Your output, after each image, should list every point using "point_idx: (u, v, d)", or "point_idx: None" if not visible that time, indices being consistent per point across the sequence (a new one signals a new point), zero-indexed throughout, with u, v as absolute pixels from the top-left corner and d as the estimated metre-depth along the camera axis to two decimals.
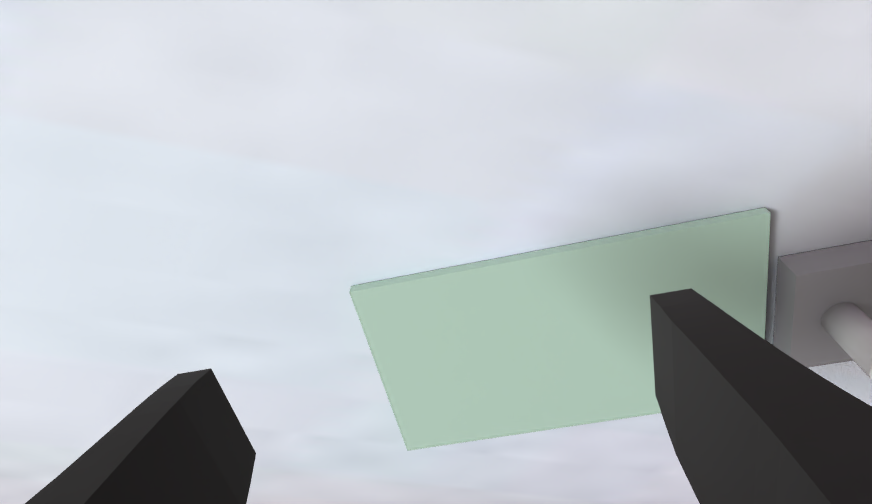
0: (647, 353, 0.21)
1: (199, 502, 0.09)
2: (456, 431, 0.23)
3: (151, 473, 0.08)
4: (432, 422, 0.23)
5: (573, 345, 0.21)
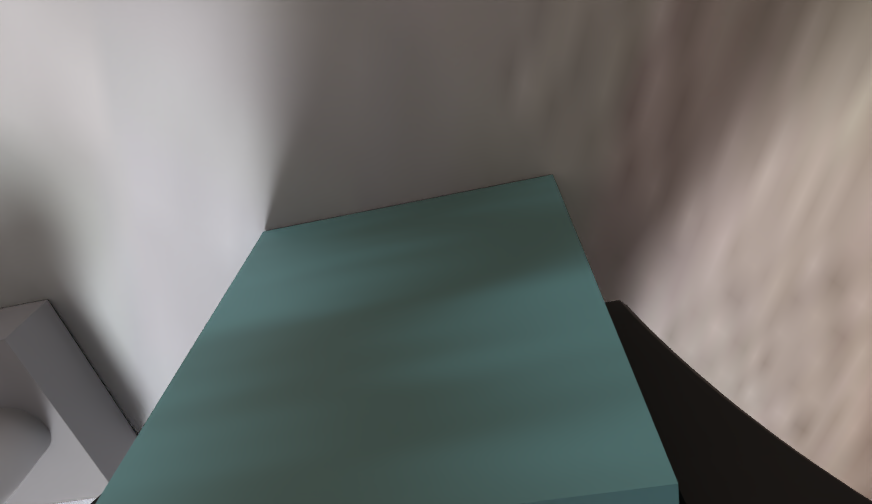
0: None
1: None
2: None
3: None
4: None
5: None
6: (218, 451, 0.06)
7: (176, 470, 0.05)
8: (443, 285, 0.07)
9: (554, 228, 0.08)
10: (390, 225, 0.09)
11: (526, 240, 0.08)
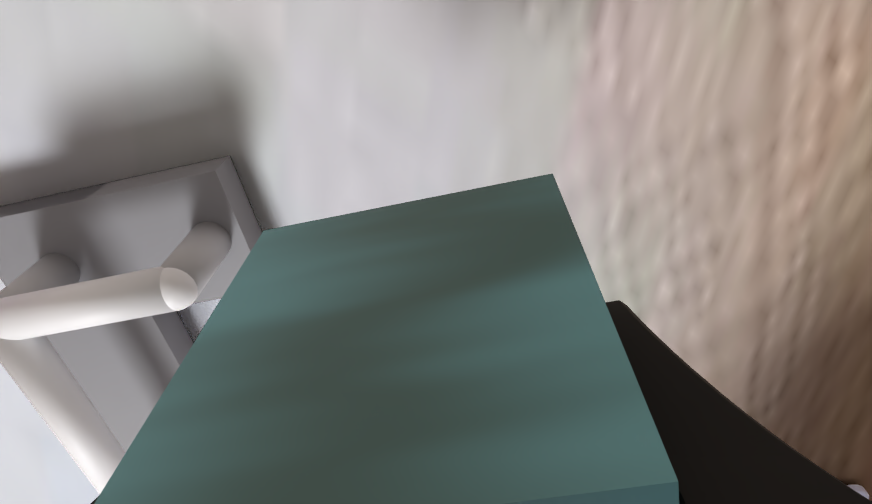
0: None
1: None
2: None
3: None
4: None
5: None
6: (218, 450, 0.06)
7: (176, 469, 0.05)
8: (443, 284, 0.07)
9: (554, 227, 0.08)
10: (390, 224, 0.09)
11: (527, 239, 0.08)
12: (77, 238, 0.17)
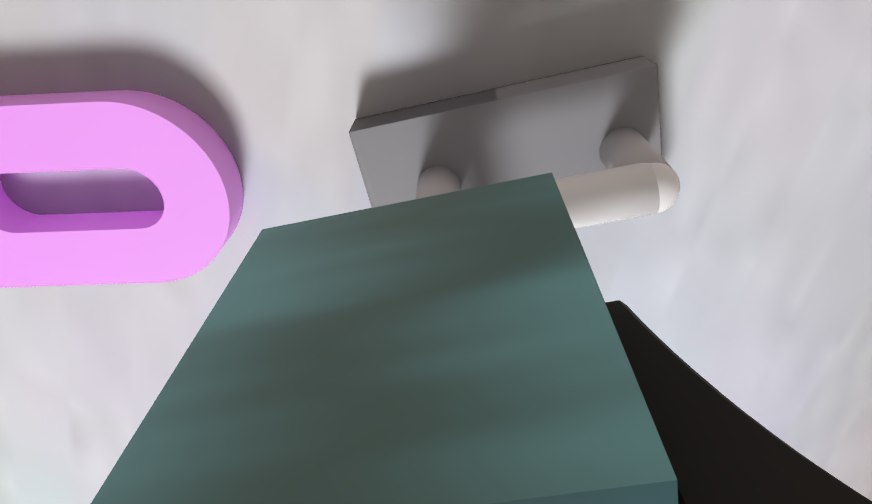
0: None
1: None
2: None
3: None
4: None
5: None
6: (216, 448, 0.06)
7: (174, 468, 0.05)
8: (442, 282, 0.07)
9: (553, 225, 0.08)
10: (389, 223, 0.09)
11: (525, 238, 0.08)
12: (471, 147, 0.16)
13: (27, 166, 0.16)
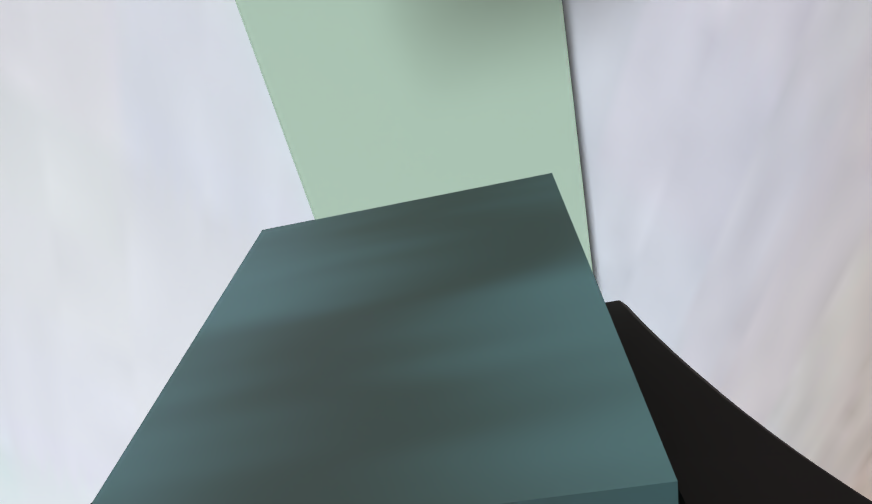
0: (455, 96, 0.16)
1: None
2: None
3: None
4: None
5: (442, 189, 0.17)
6: (216, 449, 0.06)
7: (174, 469, 0.05)
8: (442, 283, 0.07)
9: (553, 226, 0.08)
10: (389, 223, 0.09)
11: (526, 239, 0.08)
12: None
13: None
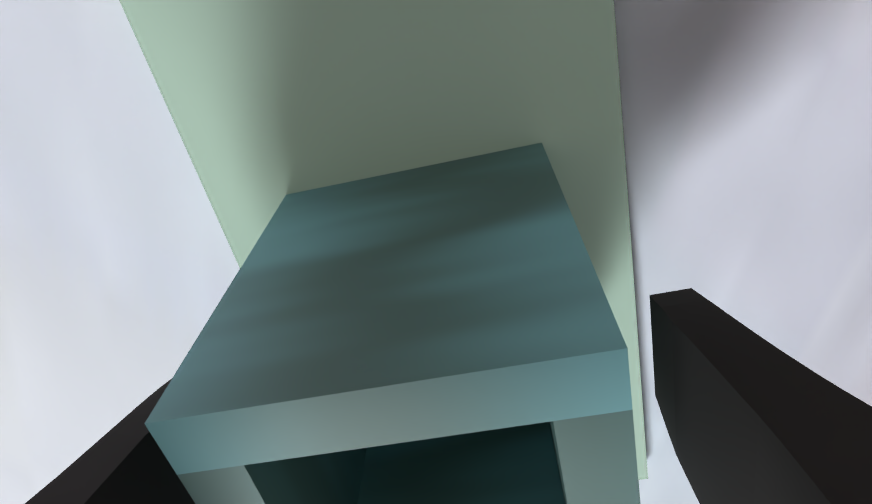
0: (452, 141, 0.11)
1: None
2: None
3: (151, 473, 0.08)
4: None
5: None
6: (264, 348, 0.07)
7: (231, 363, 0.07)
8: (446, 228, 0.09)
9: (541, 183, 0.09)
10: (399, 186, 0.10)
11: (517, 193, 0.09)
12: None
13: None
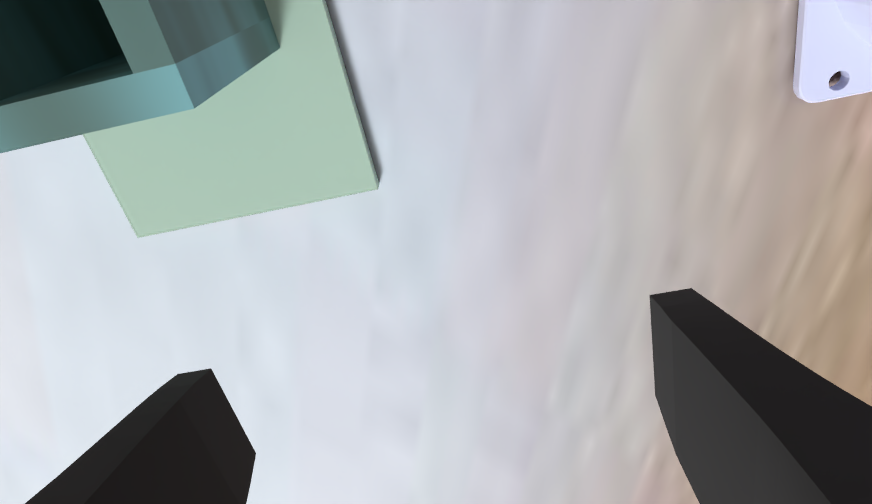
0: None
1: (199, 502, 0.09)
2: (334, 123, 0.17)
3: (151, 473, 0.08)
4: (320, 155, 0.17)
5: None
6: None
7: None
8: None
9: None
10: None
11: None
12: None
13: None
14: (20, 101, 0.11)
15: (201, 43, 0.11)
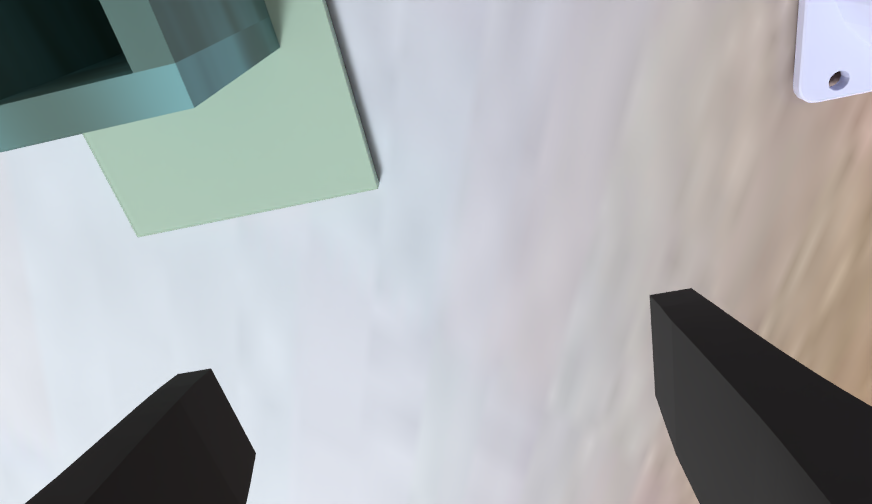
0: None
1: (199, 502, 0.09)
2: (334, 123, 0.17)
3: (151, 473, 0.08)
4: (320, 155, 0.17)
5: None
6: None
7: None
8: None
9: None
10: None
11: None
12: None
13: None
14: (20, 100, 0.11)
15: (201, 42, 0.11)
